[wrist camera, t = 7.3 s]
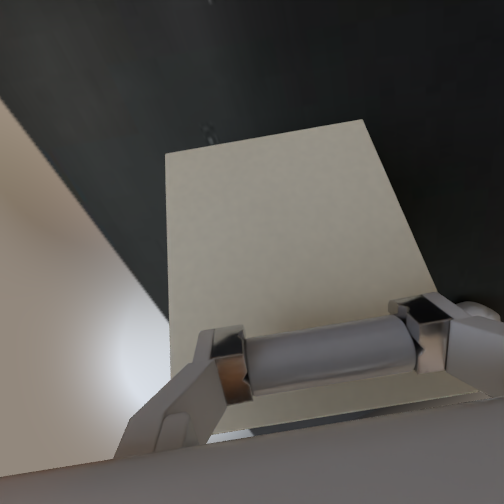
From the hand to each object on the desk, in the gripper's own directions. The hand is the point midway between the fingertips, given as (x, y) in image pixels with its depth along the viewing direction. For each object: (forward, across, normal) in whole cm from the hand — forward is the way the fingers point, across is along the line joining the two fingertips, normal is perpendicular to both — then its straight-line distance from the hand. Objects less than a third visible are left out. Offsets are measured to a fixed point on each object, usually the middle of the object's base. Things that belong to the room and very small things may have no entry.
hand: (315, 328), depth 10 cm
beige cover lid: (+6, 0, -1) cm, 6 cm away
